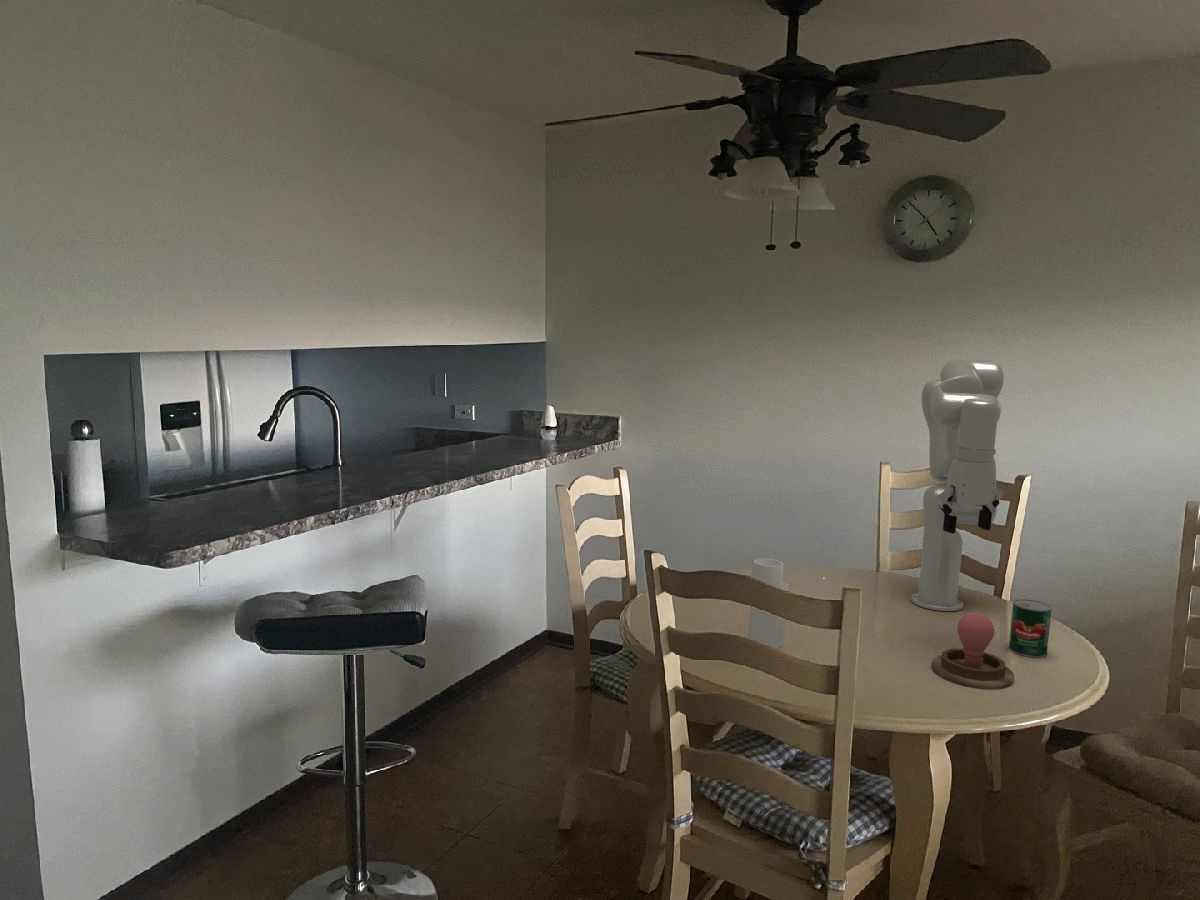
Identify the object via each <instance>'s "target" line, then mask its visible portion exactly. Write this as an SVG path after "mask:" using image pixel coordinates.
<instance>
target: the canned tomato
mask: <svg viewBox="0 0 1200 900" xmlns="http://www.w3.org/2000/svg"><path fill="white" fill-rule="evenodd" d="M1011 609H1012V611H1011V612H1012V613H1011V620H1010V621H1011V622H1010V629H1009V641H1008V650H1009V651H1010V652H1012V653H1014V654H1016V655H1019V656H1023V657H1027V658H1034V659H1041V657H1042V658H1045V657H1047V656H1048V648H1049V637H1050V627H1051V620H1052V619H1051V618H1052V610H1053V607H1052V606H1051V605H1050V604H1048V603H1046V602H1043V601H1040V600H1035V599H1028V598H1018V599H1014V600H1013V601H1012V608H1011ZM1046 655H1047V656H1046Z"/></svg>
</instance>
